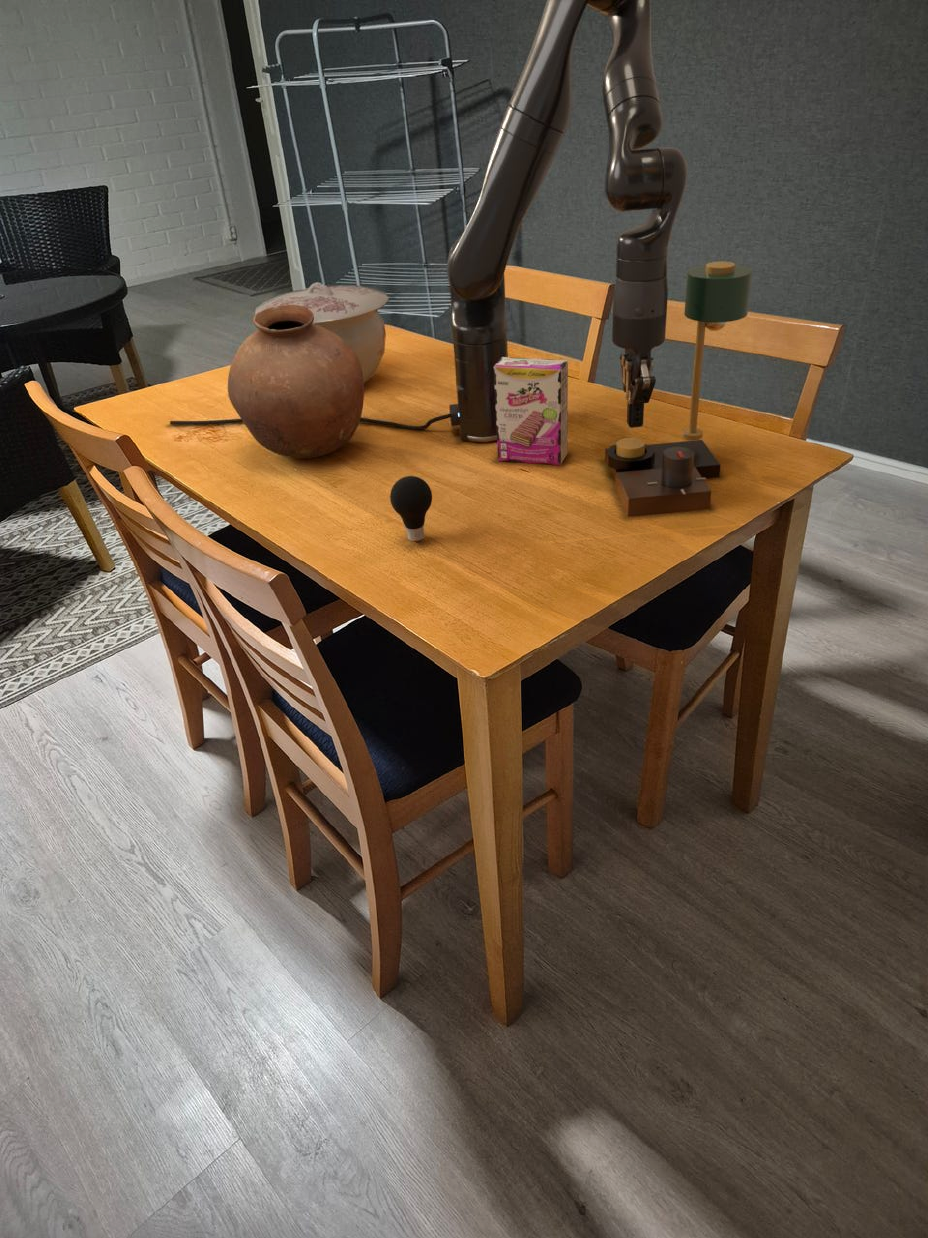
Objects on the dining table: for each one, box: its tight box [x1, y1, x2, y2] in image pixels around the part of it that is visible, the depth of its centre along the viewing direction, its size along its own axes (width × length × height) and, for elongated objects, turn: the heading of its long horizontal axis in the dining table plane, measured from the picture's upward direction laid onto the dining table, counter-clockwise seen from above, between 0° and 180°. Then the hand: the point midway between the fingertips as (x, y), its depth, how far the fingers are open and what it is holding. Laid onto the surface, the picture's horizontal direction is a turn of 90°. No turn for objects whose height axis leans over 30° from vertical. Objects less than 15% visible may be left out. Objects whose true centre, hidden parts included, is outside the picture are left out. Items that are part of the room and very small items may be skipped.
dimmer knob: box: [661, 447, 694, 488], centre depth 124 cm, size 4×4×5 cm
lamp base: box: [604, 439, 721, 484], centre depth 135 cm, size 17×10×4 cm, turn 93°
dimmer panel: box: [615, 465, 712, 518], centre depth 126 cm, size 12×9×3 cm
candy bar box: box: [494, 356, 569, 466], centre depth 138 cm, size 11×5×16 cm, turn 71°
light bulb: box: [389, 475, 433, 543], centre depth 119 cm, size 6×6×10 cm
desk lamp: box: [681, 261, 753, 441], centre depth 128 cm, size 9×9×26 cm
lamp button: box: [615, 437, 646, 458], centre depth 133 cm, size 4×4×2 cm
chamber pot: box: [254, 282, 389, 384], centre depth 177 cm, size 28×28×21 cm
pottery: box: [227, 304, 365, 459], centre depth 145 cm, size 23×23×25 cm
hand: (634, 425), depth 130 cm, fingers closed
